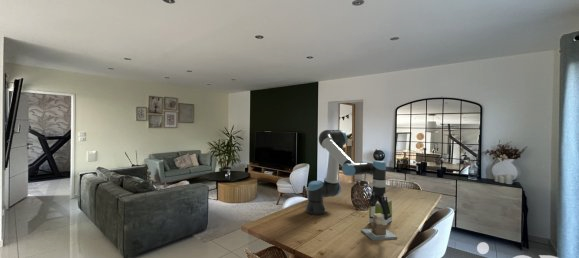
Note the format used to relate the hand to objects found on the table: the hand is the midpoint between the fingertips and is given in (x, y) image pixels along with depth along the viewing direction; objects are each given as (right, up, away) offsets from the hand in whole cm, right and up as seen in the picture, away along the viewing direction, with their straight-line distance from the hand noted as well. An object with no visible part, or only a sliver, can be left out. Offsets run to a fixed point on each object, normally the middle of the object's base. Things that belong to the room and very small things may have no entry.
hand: (378, 220), depth 155 cm
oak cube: (0, -2, 0) cm, 2 cm away
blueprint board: (0, -9, 0) cm, 9 cm away
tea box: (+9, -9, +21) cm, 25 cm away
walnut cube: (0, -8, 0) cm, 8 cm away
